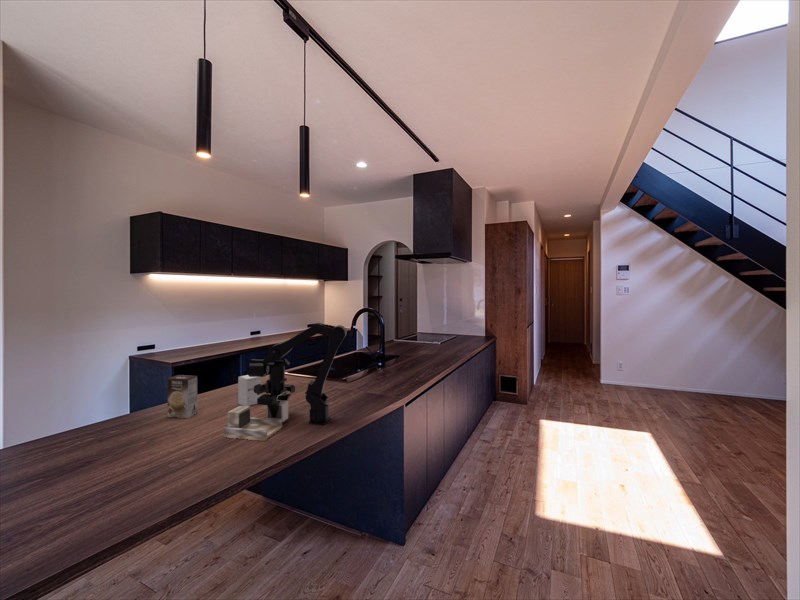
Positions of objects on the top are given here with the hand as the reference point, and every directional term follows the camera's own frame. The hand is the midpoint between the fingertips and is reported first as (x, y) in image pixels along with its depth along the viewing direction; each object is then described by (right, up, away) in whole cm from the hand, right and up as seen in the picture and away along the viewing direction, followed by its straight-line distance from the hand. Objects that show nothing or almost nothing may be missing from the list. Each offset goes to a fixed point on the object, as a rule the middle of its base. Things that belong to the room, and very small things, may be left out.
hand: (277, 415), depth 137 cm
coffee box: (-41, -2, +7) cm, 42 cm away
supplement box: (-20, -2, +22) cm, 30 cm away
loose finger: (0, -2, 0) cm, 2 cm away
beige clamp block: (-5, -3, -10) cm, 12 cm away
